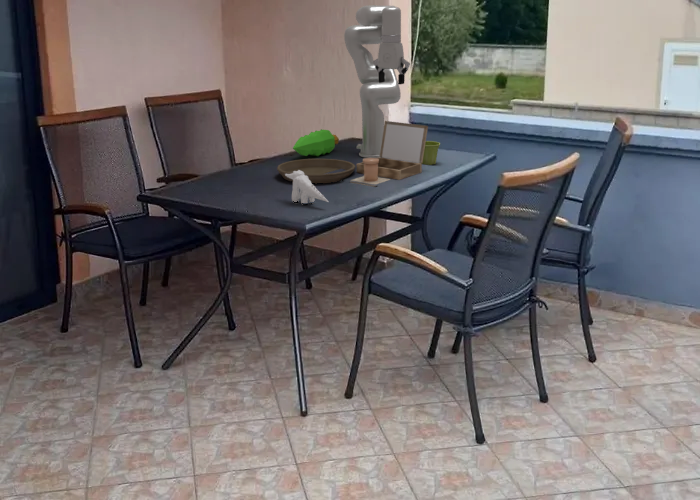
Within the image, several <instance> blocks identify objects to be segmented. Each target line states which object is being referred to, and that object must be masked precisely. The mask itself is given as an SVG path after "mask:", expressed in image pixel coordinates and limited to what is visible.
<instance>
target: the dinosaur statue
mask: <svg viewBox="0 0 700 500" xmlns="http://www.w3.org/2000/svg"><path fill="white" fill-rule="evenodd" d="M285 176H287V177H289V178H291V179H293V182H292V191H291V201H292V202H293V201H294V202H297V201H298V202H299V201H300V203H301V204H302V203H308V204H309V203H310V202H314V201H315V200H316V199H317V200H320V201H323V202H327V203H330V202H329V200H328V199H327V198H326V197H325V196H324V194H322V193H321V192H320V191H319V190H318V188H316V186H315V185H314V184H312V183H311V181H310V180H309V178H308V176H305V175H304V172H303V171H300V170H298V171H293V173H292V174H285ZM294 202H293V203H294ZM315 202H316V201H315Z"/></svg>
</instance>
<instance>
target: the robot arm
mask: <svg viewBox="0 0 700 500" xmlns="http://www.w3.org/2000/svg"><path fill="white" fill-rule="evenodd" d="M355 20H356V21H357V23H358V24H356V25H355V24H354V25H350V26H348V27H347V28H346V29H345V31H344V34H343V37H344V43H345V47H346V50H347V52H348V54H349V56H350V57H351V59H352V60H353V64H354V68H355V70H356V74H357V77H358V80H359V82H360V83H361V84H362V85H361V86H360V88H359V98H360V104H361V115H362V116H361V121H362V123H361V124H362V125H361V126H362V127H361V128H362V129H361V132H362V134H361V135H362V143H357V145H356V146H355V147H356V149H357V150H360V152H359V153H358V155H359V157H361V158H379V157H380V151H381V144H382V138H383V131H384V124H385V114H384V112H383V110H382V109H381V108H380V107H379V106H381V105H392V104H394V105H395V104H397V103H398V102H399V101H400V99H401V89H400V85H404V84H405V80H406V79H405V78H406V77H405V76H406V75H405V74H407V72H408V71H409V68H410V66H411V63H410V61H408V60H406V59H405V54H404V47H403V43H402V10H401V8H400V7H397V6H395V5H375V4H373V5H363V6H361V7H359V8H358V9H357V11H356V13H355ZM365 45H379V46H378V52H377V56H378V57H377V58H376V59H374V57H373V55H372V54H373V53H371V51H370V50H368V48H366V47H365ZM395 70H397V72H398V76H397V75H396V71H395ZM397 77H398V79H397ZM380 158H382V157H380Z"/></svg>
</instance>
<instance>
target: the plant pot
mask: <svg viewBox="0 0 700 500" xmlns="http://www.w3.org/2000/svg"><path fill="white" fill-rule="evenodd" d="M440 145H441V142H438V141H433V140H426V143H425V149H424V155H423V162H422V163H420V164H422V165H425V166H433V165H436V164H437V157H438V153H439V148H440Z"/></svg>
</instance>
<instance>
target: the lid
mask: <svg viewBox="0 0 700 500" xmlns="http://www.w3.org/2000/svg"><path fill="white" fill-rule="evenodd" d="M428 128H429V125H426V124H425V125H424V124H415V123H408V122H407V123H406V122H398V121H390V120H384V131H383V138H382V144H381V151H380V157H381V158H387V159H393V160H400V161H407V162H413V163H420V164H421V163H422V162H423V155H424V149H425V143H426V141H427V135H428Z"/></svg>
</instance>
